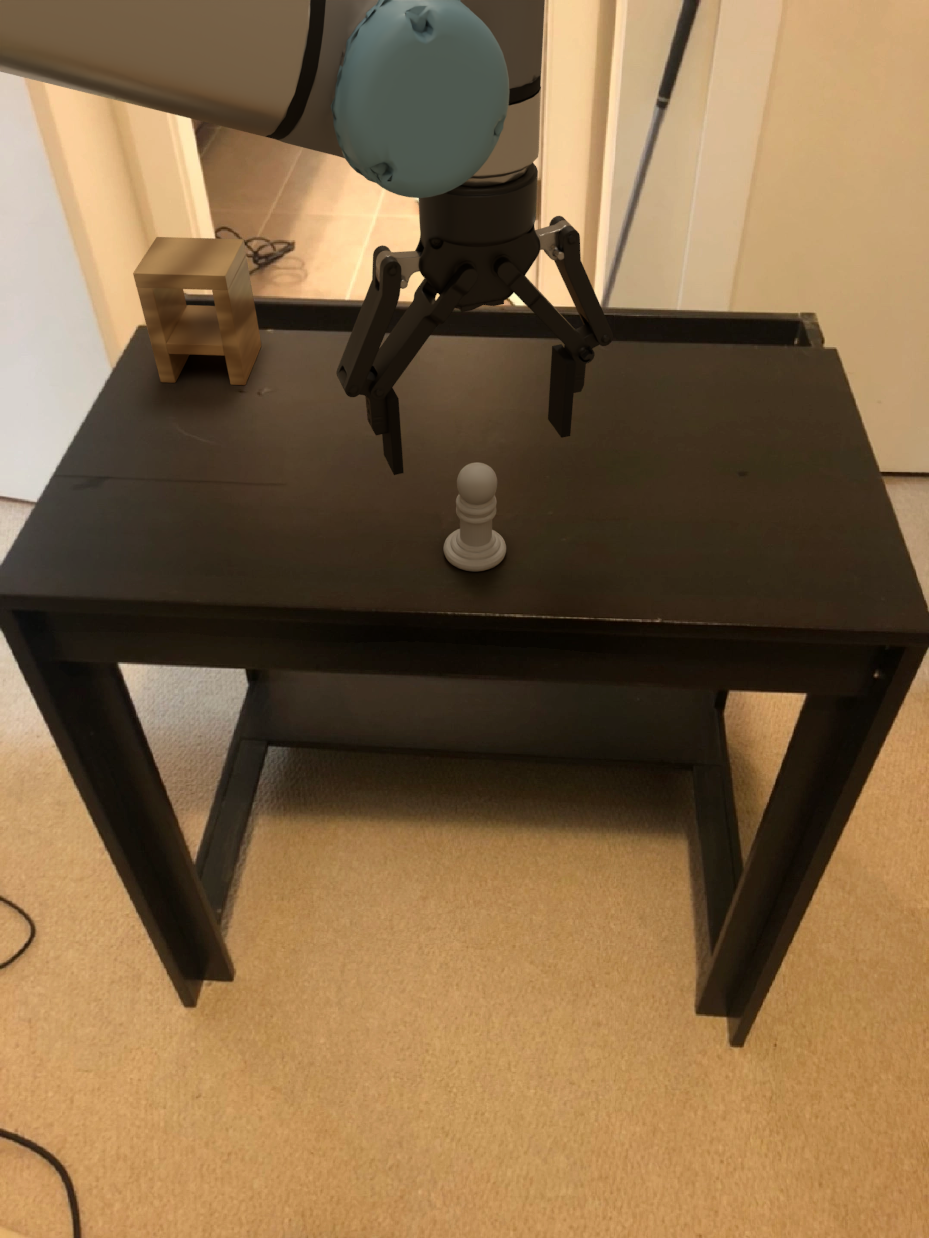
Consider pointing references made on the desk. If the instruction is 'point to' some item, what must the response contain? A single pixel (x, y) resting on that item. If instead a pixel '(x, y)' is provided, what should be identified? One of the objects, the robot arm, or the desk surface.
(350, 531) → the desk surface
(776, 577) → the desk surface
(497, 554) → the chess piece
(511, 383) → the desk surface
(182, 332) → the shelf
